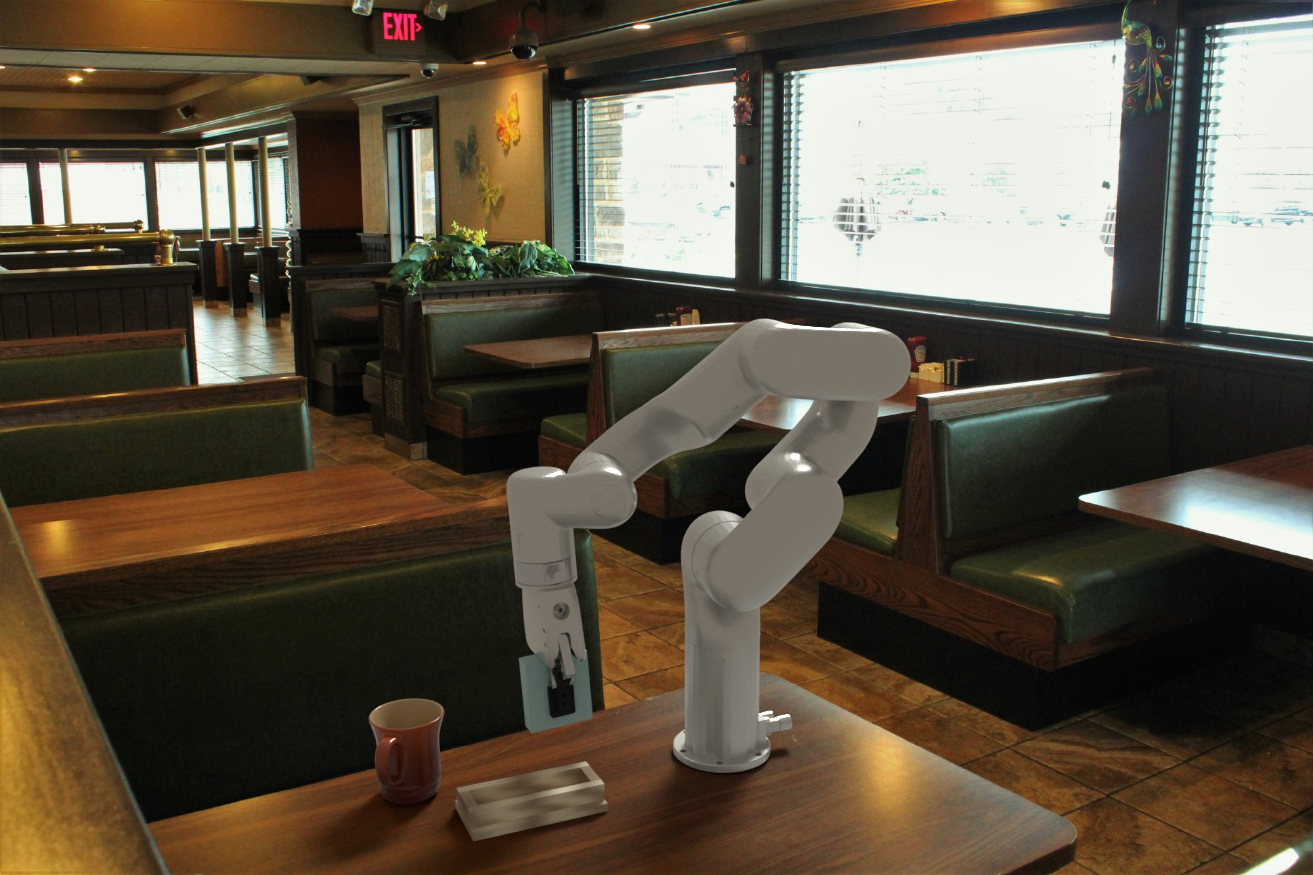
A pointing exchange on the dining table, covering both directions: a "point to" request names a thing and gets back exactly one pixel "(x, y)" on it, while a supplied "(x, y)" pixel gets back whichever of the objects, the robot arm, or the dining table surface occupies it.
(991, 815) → the dining table surface
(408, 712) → the mug
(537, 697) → the door panel
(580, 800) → the pale wooden tray
